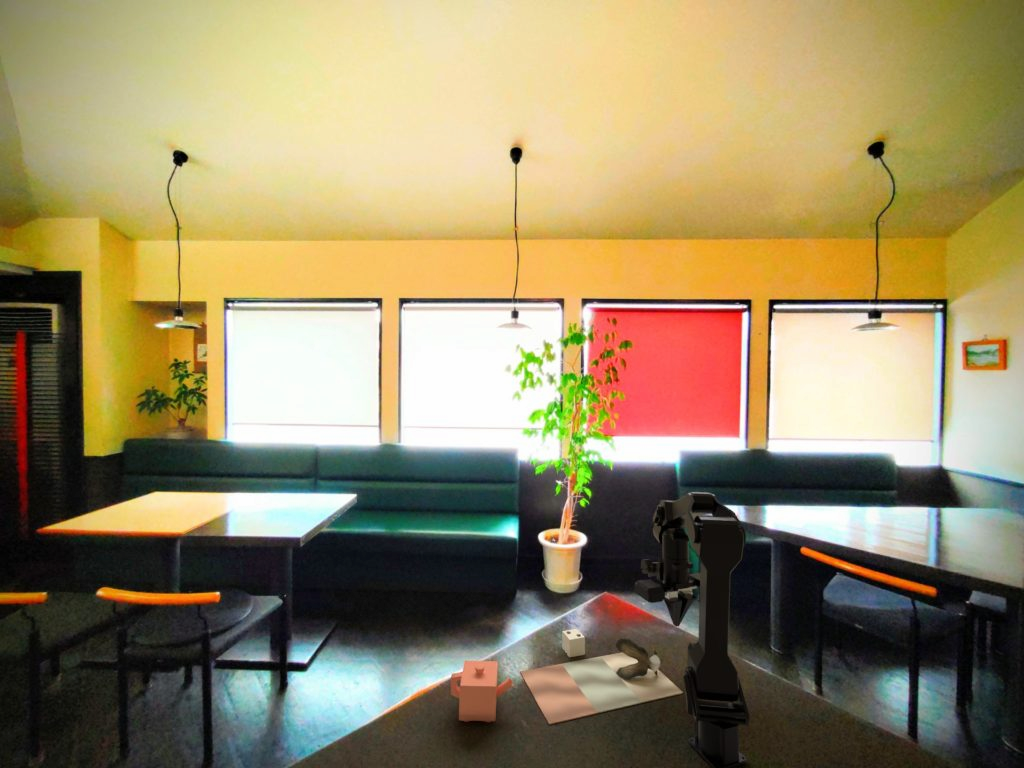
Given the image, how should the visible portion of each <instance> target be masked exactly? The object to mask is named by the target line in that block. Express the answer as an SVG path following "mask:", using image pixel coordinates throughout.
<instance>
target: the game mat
mask: <svg viewBox="0 0 1024 768" xmlns="http://www.w3.org/2000/svg"><path fill="white" fill-rule="evenodd" d="M637 662H638V661H637V660H636V659H634V658H632V657H629V656H627V655H626V654H624V653H622V652H616V653H612V654H606V655H601V656H596V657H595V656H594V657H591V658H590V657H589V658H586V659H579V660H575V661H569V662H564V663H559V664H558V663H557V664H554V665H546V666H542V667H538V668H532V669H531V668H530V669H526V670H521V671H519V673H520V675H521V677H522V678H523V680H524V681H525V682H524V683H525V684H526V685H527V687H528V689H529V691H530V694H532V697H533V698H534V700H535V702H536V704H537V706H538V707H539V709H540V710H541V713H542V715H543V717H544V718H545V721H546V722H547V724H548V725H550V726H551V725H554V724H558V723H564V722H567V721H572V720H575V719H580V718H584V717H589V716H592V715H596V714H601V713H605V712H610V711H614V710H618V709H623V708H626V707H627V708H628V707H632V706H635V705H639V704H643V703H648V702H653V701H657V700H661V699H665V698H671V697H674V696H678V695H683V694H684V692H683V691H682V690H681V689H680V688H679V687H678V686H677V685H675V683H674V682H673V681H672V680H670V679H669V678H668V677H667V676H666V675H665V674H664V673H663V672H662V671H660V670H659V669H658V670H657V673H658V676H656V675H655V673H654V671H653V670H651V669H648V671H647V674H646V675H644V676H637V677H636V676H635V677H633V678H631V679H623V678H621V677H620V676H618V675H617V674H616V672H617V670H618V669H619V668H621V667H626V666H628V665H631V664H635V663H637Z"/></svg>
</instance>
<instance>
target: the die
mask: <svg viewBox="0 0 1024 768" xmlns="http://www.w3.org/2000/svg"><path fill="white" fill-rule="evenodd" d="M561 640H562V641H561V642H562V643H561V649H562V650H563V651H564V652H565V654H566V653H567V654H566V655H567V656H568V658H575V657H579V656H584V655H586V637H585V636H584V634H582V632H581V631H580V630H579V629H578V628H574V629H568V630H562V639H561Z"/></svg>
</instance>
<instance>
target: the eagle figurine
mask: <svg viewBox="0 0 1024 768" xmlns="http://www.w3.org/2000/svg"><path fill="white" fill-rule="evenodd" d="M614 645H615V648H617V651H619V652H620V653H624V654H626V655H627V656H629V657H632V658H634V659H636V660H637V661H638V662H637V663H635V664H631V665H628V666H626V667H621V668H619V669H618V670H617V672H616V674H617V675H618V676H620V677H621V678H623V679H631V678H633V677H635V676H636V677H637V676H644V675H646V674H647V671H648V669H651V670H653V671H654V673H655V675H656V676H658V673H657V670H659V669H661V661H662V658H660V657H659V656H658V652H657V649H656V645H653V649H652V651H653V654H652V656H649V652H648V651H647V650H646V648H644V646H639V645H638V643H635V642H634V641H633V640H632V639H629V638H625V637H624V638H619V639H617V641H615V643H614Z"/></svg>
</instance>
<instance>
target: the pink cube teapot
mask: <svg viewBox="0 0 1024 768" xmlns="http://www.w3.org/2000/svg"><path fill="white" fill-rule="evenodd" d="M498 667H499V666H498V661H497V660H464V662H463V667H462V668H463V669H462V671H461V672H460V671H459V672H454V673H451V676H450V695H451V696H452V697H455V698H456V699H458V700H459V702H458V703H459V704H458V721H462V722H465V723H466V722H467V723H468V722H471V721H472V722H484V723H485V722H486V723H491V722H496V716H497V715H496V714H497V698H498V697H500V696H501V695H503V694H505V693H506V692H507V691H509V690H510V689H512V688H513V687H514V682H513V680H512V678H511V677H508V678H507V679H506V680H504V681H503V682H502V683H500V684H499V685H498ZM458 681H460V684H459V686H458Z"/></svg>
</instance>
